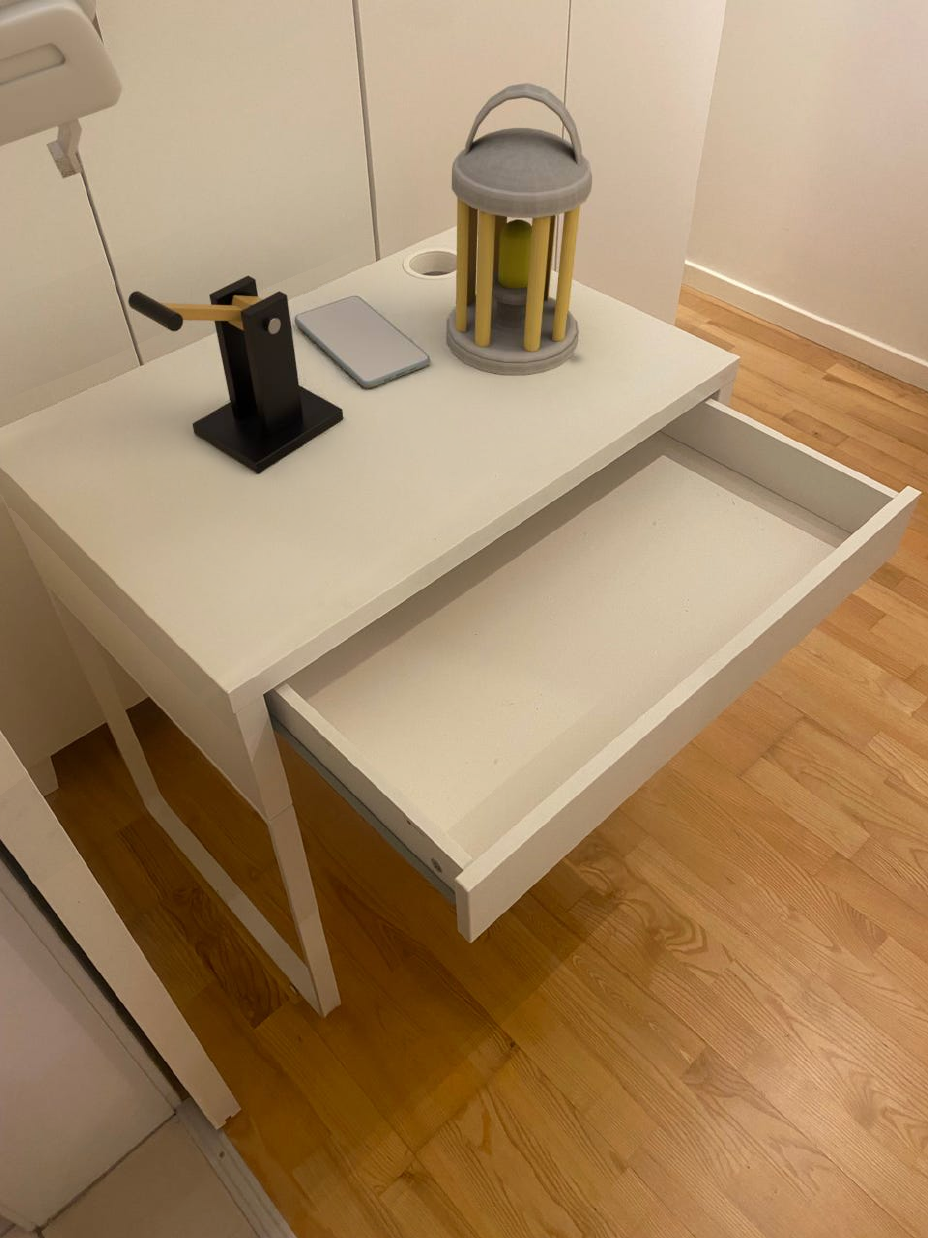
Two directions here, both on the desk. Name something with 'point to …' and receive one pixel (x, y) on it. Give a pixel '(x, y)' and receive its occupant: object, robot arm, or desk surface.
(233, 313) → the lever
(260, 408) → the switch bracket
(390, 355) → the smartphone
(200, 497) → the desk surface
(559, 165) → the lantern
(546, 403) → the desk surface
